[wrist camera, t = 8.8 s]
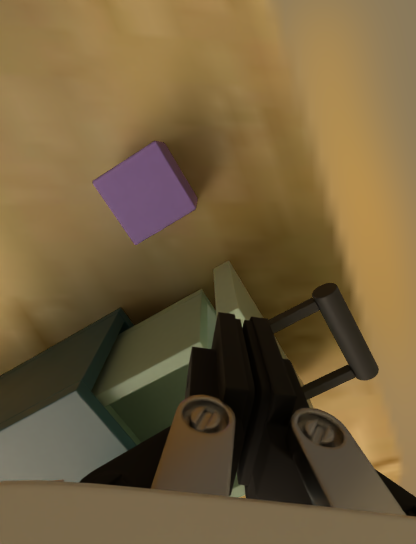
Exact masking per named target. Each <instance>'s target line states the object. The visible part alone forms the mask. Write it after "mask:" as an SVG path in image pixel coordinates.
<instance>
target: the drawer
mask: <svg viewBox="0 0 416 544" xmlns="http://www.w3.org/2000/svg"><path fill="white" fill-rule="evenodd" d="M213 272H214V287H215V302H216V310H215V309H214V307H213V306H212V304H211V303H210V301H209V299H208V298H207V296H206V295H205V293H204V292H203V290H202V289H200V290H198V291H196V292H194V293H193V294H191V295H189V296H187V297H185V298H184V299H182V300H180V301H178V302H176V303H175V304H173V305H171V306H169V307H167V308H166V309H164V310H162V311H160V312H158V313H157V314H155V315H153V316H151V317H149V318H147V319H146V320H144V321H142V322H140V323H138V324H137V325H135V326H133V327H131V328H129V329H128V330H126V331H124V332H122V333H120V334H119V335H118V336H117V338H116V340H115V342H114V344H113V346H112V348H111V350H110V352H109V355H108V357H107V359H106V361H105V363H104V365H103V367H102V369H101V371H100V374H99V376H98V378H97V380H96V382H95V384H94V386H93V388H92V390H91V392H92V393H93V394H94V395H95V397H96V398H97V399H98V400H99V401H100V402H101V404H102V405H103V406H104V407H105V408H106V409H107V411H108V412H109V413H110V414H111V415H112V416H113V418H114V419H115V420H116V421H117V422H118V424H119V425H120V426H121V427H122V428H123V429H124V431H125V432H126V433H127V434H128V435H129V436H130V438H131V439H132V440H133V441H134V442H135V443H136V445H138V444H140V443H142V442H143V441H145V440H147V439H149V438H150V437H152V436H154V435H155V434H157V433H159V432H161V431H162V430H164V429H166V428H167V427H169V426H171V425H172V422H173V418H174V415H175V412H176V409H177V407H178V405H179V404H180V402H181V401H183V400H184V399H185V390H186V381H187V374H188V367H189V361H190V355H191V349H192V347H200V348H207V349H211V347H212V342H213V336H214V331H215V325H216V320H217V315H218V312H223V313H230V314H235V318H236V319H240V320H241V324H242V327H243V322H244V320H250V318H251V317H259V318H263V316H262V315H261V313H260V311H259V310H258V308H257V306H256V305H255V303H254V301H253V300H252V298H251V296H250V295H249V293H248V291H247V290H246V288H245V286H244V285H243V283H242V281H241V280H240V278H239V276H238V275H237V273H236V271H235V270H234V268H233V266H232V265H231V263H230V261H226V262H225V263H223V264H221V265H219V266H218V267H216V268H214V269H213ZM312 297H313V298H310V299H308V300H306V301H304V302H302V303H300V304H299V305H297V306H295V307H293V308H291V309H289V310H287V311H285V312H283V313H281V314H279V315H277V316H275V317H273V318H271V319H270V320H268V321H269V323H270V326H271V329H272V331H273V334H274V333H276V332H278V331H280V330H281V329H283V328H285V327H287V326H289V325H291V324H293V323H295V322H297V321H299V320H301V319H303V318H305V317H307V316H309V315H311V314H313V313H315V312H317V311H319V310H320V312H321V314H322V316H323V318H324V319H325V321H326V323H327V325H328V327H329V329H330V331H331V333H332V334H333V336H334V338H335V340H336V342H337V344H338V346H339V347H340V349H341V351H342V353H343V355H344V357H345V359H346V361H347V362H348V364H349V365H346V366H344V367H342V368H340V369H338V370H336V371H333V372H331V373H329V374H327V375H325V376H323V377H321V378H319V379H317V380H315V381H312V382H310V383H308V384H306V385H303V383H302V381H301V380H300V378H299V376H298V375H297V373H296V371H295V373H296V375H297V378H298V380H299V383H300V385H301V387H302V390H303V392H304V395H305V397H306V400H307V402H308V405H309V407H310V408H313V406H312V404H311V401H310V398H312V397H314V396H316V395H319V394H321V393H323V392H325V391H327V390H329V389H331V388H334V387H336V386H338V385H340V384H342V383H344V382H346V381H349V380H351V379H353V378H355V377H356V378H357V379H359V380H369V379H372V378H374V377H375V376H376V375H377V374H378V370H379V369H378V366H377V364H376V362H375V360H374V358H373V356H372V354H371V352H370V350H369V348H368V346H367V344H366V342H365V340H364V338H363V336H362V334H361V332H360V330H359V328H358V326H357V324H356V322H355V320H354V318H353V316H352V314H351V312H350V310H349V308H348V306H347V304H346V302H345V300H344V298H343V296H342V294H341V292H340V290H339V288H338V286H337V285H336V284H334V283H326V284H323V285H321V286H319V287H317V288H316V289H315V290H314V291H313V293H312ZM274 337H275V336H274ZM275 339H276V338H275ZM276 342H277V345H278V347H279V350H280V353H281V355H282V358H283V359H288V358H287V356H286V355H285V353H284V351H283V350H282V348H281V346H280V345H279V343H278V341H277V340H276ZM243 495H245V486H244V485H239V484H238V480H237V472H236V477H235V481H234V485H233V489H232V493H231V495H230V496H229V497H237V498H239V497H241V496H243Z"/></svg>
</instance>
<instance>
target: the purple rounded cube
mask: <svg viewBox="0 0 416 544" xmlns="http://www.w3.org/2000/svg"><path fill="white" fill-rule="evenodd" d="M92 183H93V185H94V186H95V187H96V189H97V190H98V192H99V193H100V195H101V196H102V198H103V199H104V201H105V202H106V204H107V205H108V206H109V208H110V209H111V211H112V212H113V214H114V215H115V217H116V218H117V220H118V221H119V223H120V224H121V225H122V227H123V228H124V230H125V231H126V233H127V234H128V236H129V237H130V239H131V240H132V242H133V243H134V244H135V245H137V244H139V243H140V242H142V241H144V240H145V239H147V238H149V237H150V236H152V235H154V234H155V233H157V232H159V231H160V230H162V229H164V228H165V227H167V226H169V225H170V224H172V223H174V222H175V221H177V220H179V219H180V218H182V217H184V216H185V215H187V214H189V213H190V212H192V211H194V210H195V209H196V206H197V200H198V198H197V196H196V195H195V193H194V191H193V190H192V188H191V186H190V185H189V183H188V181H187V180H186V178H185V176H184V174H183V173H182V171H181V169H180V168H179V166H178V164H177V163H176V161H175V159H174V158H173V156H172V154H171V153H170V151H169V149H168V148H167V146H166V144H165V143H164V142H159V141H153V142H152V143H150V144H149V145H147V146H146V147H144V148H143V149H141V150H140V151H138V152H137V153H135V154H133V155H132V156H130V157H129V158H127V159H126V160H124V161H123V162H121V163H120V164H118V165H117V166H115V167H114V168H112V169H110V170H109V171H107V172H106V173H104V174H103V175H101V176H100V177H98V178H97V179H95V180H94V181H93V182H92Z"/></svg>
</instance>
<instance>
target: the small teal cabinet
mask: <svg viewBox="0 0 416 544" xmlns="http://www.w3.org/2000/svg"><path fill="white" fill-rule="evenodd" d="M133 326H134V324H133V323H132V322H131V320H130V319H129V318H128V316H127V315H126V314H125V312H124V311H123V310H122V308H119V309H117V310H115V311H114V312H112V313H110V314H108V315H107V316H105V317H103V318H101V319H99V320H98V321H96V322H94V323H92V324H91V325H89V326H87V327H85V328H84V329H82V330H80V331H78V332H77V333H75V334H73V335H71V336H70V337H68V338H66V339H64V340H63V341H61V342H59V343H57V344H56V345H54V346H52V347H50V348H49V349H47V350H45V351H43V352H42V353H40V354H38V355H36V356H35V357H33V358H31V359H29V360H27V361H26V362H24V363H22V364H20V365H19V366H17V367H15V368H13V369H12V370H10V371H8V372H6V373H5V374H3V375H1V376H0V481H21V480H43V481H53V480H63V479H64V482H76V483H79V482H80V481H81V479H83V478H84V477H85V476H87V475H88V474H89V473H90V472H92V471H94V470H95V469H97V468H99V467H101V466H102V465H104V464H106V463H107V462H109V461H111V460H113V459H114V458H116V457H118V456H119V455H121V454H123V453H125V452H126V451H128V450H130V449H131V448H133V447H135V446H137V445H136V443H135V442H134V441H133V440H132V439H131V438H130V436H129V435H128V434H127V433H126V432H125V431H124V429H123V428H122V427H121V426H120V425H119V424H118V422H117V421H116V420H115V419H114V418H113V416H112V415H111V414H110V413H109V412H108V411H107V409H106V408H105V407H104V406H103V405H102V404H101V402H100V401H99V400H98V399H97V398H96V397H95V395H94V394H93V393H92V392H91V390H92V388H93V386H94V384H95V382H96V380H97V378H98V376H99V374H100V371H101V369H102V367H103V365H104V363H105V361H106V359H107V357H108V355H109V352H110V350H111V348H112V346H113V344H114V342H115V340H116V338H117V336H118V335H119V334H120V333H122V332H124V331H126V330H128V329H129V328H131V327H133Z"/></svg>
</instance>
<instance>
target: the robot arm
mask: <svg viewBox="0 0 416 544" xmlns="http://www.w3.org/2000/svg"><path fill="white" fill-rule="evenodd" d="M236 472H237V480H238V484H239V485H244V486H245V495H246V498H237V497H229V496H230V495H231V493H232V489H233V485H234V481H235V477H236ZM0 544H416V497H415V496H413V495H412V494H410V493H409V492H407V491H406V490H405V489H403V488H402V487H400V486H399V485H397V484H396V483H394V482H393V481H391V480H390V479H389V478H387V477H386V476H384V475H383V474H381V473H380V472H378V471H377V470H375V469H374V468H373V466H372V465H371V463H370V462H369V460H368V459H367V457H366V456H365V454H364V453H363V452H362V450H361V449H360V447H359V446H358V444H357V443H356V441H355V440H354V438H353V437H352V436H351V434H350V433H349V431H348V430H347V428H346V427H345V426H344V425H343V424H342V423H341V422H340V421H339V420H338V419H336V418H335V417H334V416H332V415H330V414H328V413H327V412H324V411H321V410H318V409H314V408H310V407H309V405H308V402H307V400H306V397H305V395H304V392H303V390H302V387H301V385H300V383H299V380H298V378H297V375H296V373H295V370H294V368H293V366H292V363H291V361H290V360H289V359H283V358H282V355H281V353H280V350H279V347H278V345H277V342H276V339H275V337H274V334H273V331H272V329H271V326H270V323H269V321H268V319H266V318H259V317H251V318H250V320H244V322H243V327H242V324H241V320H240V319H236V318H235V314H230V313H223V312H218V315H217V320H216V325H215V331H214V336H213V342H212V347H211V349H207V348H200V347H192V349H191V355H190V361H189V367H188V374H187V381H186V390H185V399H184V400H183V401H181V402H180V404H179V405H178V407H177V409H176V412H175V415H174V418H173V422H172V425H171V426H169V427H167V428H166V429H164V430H162V431H161V432H159V433H157V434H155V435H154V436H152V437H150V438H149V439H147V440H145V441H143V442H142V443H140V444H138V445H137V446H135V447H133V448H131V449H130V450H128V451H126V452H125V453H123V454H121V455H119V456H118V457H116V458H114V459H113V460H111V461H109V462H107V463H106V464H104V465H102V466H101V467H99V468H97V469H95V470H94V471H92V472H90V473H89V474H88V475H87V476H85V477H84V478H83V479H81V481H80V482H79V483H76V482H64V479H63V480H53V481H43V480H21V481H0Z"/></svg>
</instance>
